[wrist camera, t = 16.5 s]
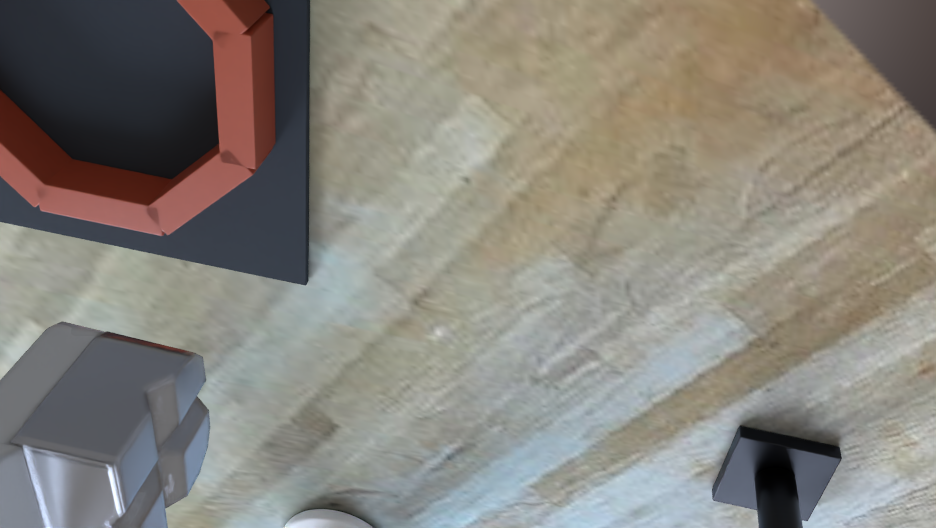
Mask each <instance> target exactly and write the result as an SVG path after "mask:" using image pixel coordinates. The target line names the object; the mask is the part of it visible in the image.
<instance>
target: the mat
mask: <svg viewBox="0 0 936 528" xmlns="http://www.w3.org/2000/svg"><path fill="white" fill-rule="evenodd" d="M264 1H265V2H266V3H267V4H268V5H269V7H270V8H269V9H268V10H267V11H266V12H265V13H270V14H273V32H274V86H275V140H276V143H275V145H274V146H273V149H272V151H271V152H270V153H269V155H268V156H267V157H266V159H265V160H264V161H263V162H262V164H261V165H260V166H259V168H258V169H257V170H256V172H255V173H254V174H253V175H252V176H251V177H249V178H248V179H246V180H245V181H244V182H242V183H241V184H239V185H238V186H237V187H235V188H234V189H232V190H231V191H230V192H228V193H227V194H225V195H224V196H223V197H221V198H220V199H218V200H217V201H216V202H214V203H213V204H211V205H210V206H209V207H207V208H206V209H204V210H203V211H202V212H200V213H199V214H197V215H196V216H195V217H193V218H192V219H190V220H189V221H188V222H186V223H185V224H183V225H182V226H181V227H179V228H178V229H176V230H175V231H174V232H172V233H171V234H169V235H167V234H166V233H165V234H164V235H163V236H160V235H155V234H150V233H145V232H140V231H136V230H131V229H126V228H121V227H116V226H112V225H107V224H102V223H97V222H92V221H88V220H83V219H78V218H73V217H68V216H64V215H59V214H54V213H49V212H44V211H41V210H40V206H39V205H38V206H36V207H33V206H32V205H31V204H30V203H29V202H28V201H27V200H26V199H25V198H24V197H22V196H21V195H20V194H19V193H18V192H17V191H16V190H15V189H14V188H13V187H12V186H11V185H9V184H8V183H7V182H6V181H5V180H4V179H3V178H2V177H1V176H0V222H4V223H9V224H13V225H18V226H23V227H28V228H33V229H37V230H42V231H47V232H52V233H57V234H61V235H66V236H71V237H76V238H81V239H85V240H90V241H95V242H100V243H105V244H109V245H114V246H119V247H124V248H129V249H133V250H138V251H143V252H148V253H153V254H157V255H162V256H167V257H172V258H177V259H181V260H186V261H191V262H196V263H201V264H205V265H210V266H215V267H220V268H225V269H229V270H234V271H239V272H244V273H249V274H253V275H258V276H263V277H268V278H273V279H277V280H282V281H287V282H292V283H297V284H301V285H306V284H307V283H308V257H309V52H310V0H264ZM0 90H1V91H2V92H3V93H4V94H6V95H7V96H8V97H9V98H10V99H11V100H12V101H13V102H14V103H15V104H16V105H17V106H18V107H19V108H20V109H21V110H22V111H23V112H24V113H25V114H26V115H27V116H28V117H29V118H30V119H31V120H33V121H34V122H35V123H36V124H37V125H38V126H39V127H40V128H41V129H42V130H43V131H44V132H45V133H46V134H47V135H48V136H49V137H50V138H51V139H52V140H53V141H54V142H55V143H56V144H57V145H58V146H59V147H61V148H62V149H63V150H64V151H65V152H66V153H67V154H68V155H69V156H70V157H71V158H72V159H74V160H79V161H84V162H89V163H94V164H99V165H104V166H109V167H114V168H119V169H124V170H129V171H134V172H139V173H143V174H148V175H153V176H158V177H163V178H168V179H173V178H174V177H176V176H177V175H178V174H180V173H181V172H182V171H184V170H185V169H186V168H188V167H189V166H190V165H192V164H193V163H194V162H195V161H197V160H198V159H199V158H201V157H202V156H203V155H205V154H206V153H207V152H209V151H210V150H211V149H213V148H214V147H215V146H217V145H218V144H219V133H218V117H217V101H216V85H215V69H214V53H213V40H212V39H211V38H210V37H209V36H208V35H207V33H206V32H205V31H204V30H203V29H202V28H201V27H200V26H199V25H198V23H197V22H196V21H195V20H194V19H193V18H192V17H191V16H190V15H189V13H188V12H187V11H186V10H185V9H184V8H183V7H182V6H181V5H180V3H179V2H178V1H177V0H0Z"/></svg>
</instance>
